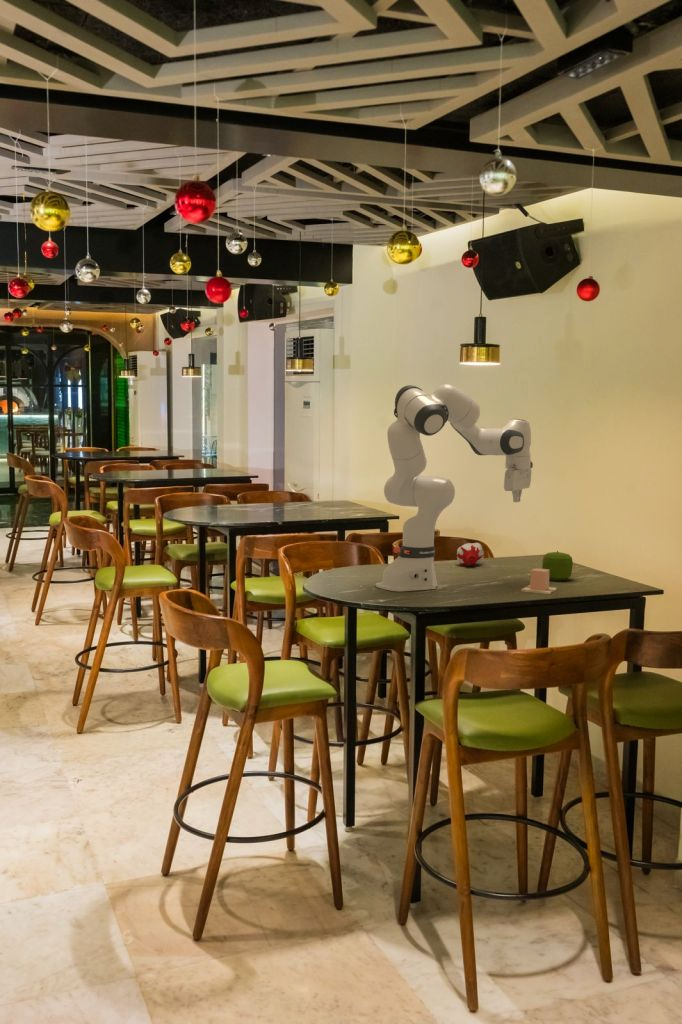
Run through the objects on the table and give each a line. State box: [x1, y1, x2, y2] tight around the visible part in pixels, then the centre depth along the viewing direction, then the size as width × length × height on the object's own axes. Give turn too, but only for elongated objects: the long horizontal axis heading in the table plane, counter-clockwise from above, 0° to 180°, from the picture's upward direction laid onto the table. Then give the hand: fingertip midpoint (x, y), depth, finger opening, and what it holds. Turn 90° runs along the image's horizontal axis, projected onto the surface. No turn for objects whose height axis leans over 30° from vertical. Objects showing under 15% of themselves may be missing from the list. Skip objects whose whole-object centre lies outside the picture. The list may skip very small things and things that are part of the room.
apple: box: [541, 550, 573, 582], centre depth 340 cm, size 11×11×11 cm
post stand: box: [520, 584, 558, 595], centre depth 318 cm, size 10×10×6 cm
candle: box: [455, 542, 485, 567], centre depth 370 cm, size 9×11×15 cm
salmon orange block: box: [529, 568, 550, 591], centre depth 318 cm, size 5×5×7 cm
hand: (516, 502), depth 334 cm, fingers closed
